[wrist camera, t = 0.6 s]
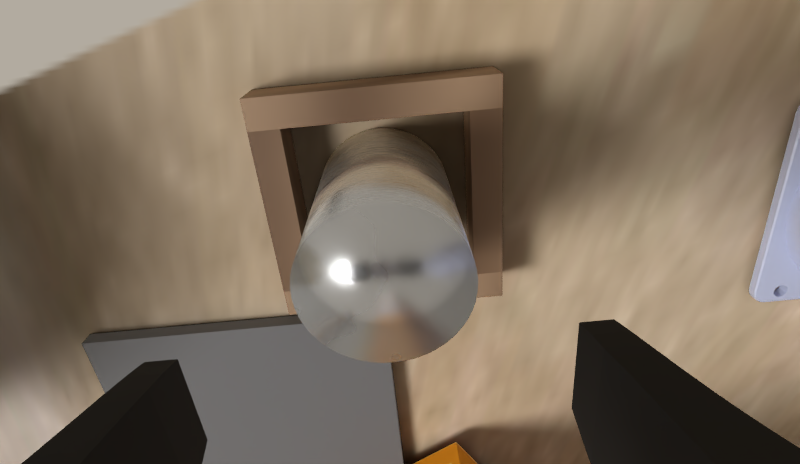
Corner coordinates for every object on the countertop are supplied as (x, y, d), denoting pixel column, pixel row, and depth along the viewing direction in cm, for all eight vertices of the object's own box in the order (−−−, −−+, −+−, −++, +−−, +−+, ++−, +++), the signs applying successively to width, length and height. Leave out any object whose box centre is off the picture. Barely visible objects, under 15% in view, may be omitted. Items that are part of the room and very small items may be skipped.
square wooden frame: (492, 66, 16) (502, 73, 15) (494, 274, 19) (502, 295, 18) (251, 89, 16) (239, 99, 15) (295, 292, 19) (289, 314, 18)
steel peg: (444, 121, 17) (476, 194, 11) (449, 239, 19) (479, 354, 13) (311, 134, 17) (272, 212, 11) (331, 250, 19) (307, 370, 13)
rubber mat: (385, 307, 20) (384, 316, 19) (408, 501, 25) (409, 512, 25) (89, 334, 20) (81, 343, 19) (175, 521, 25) (171, 533, 25)
